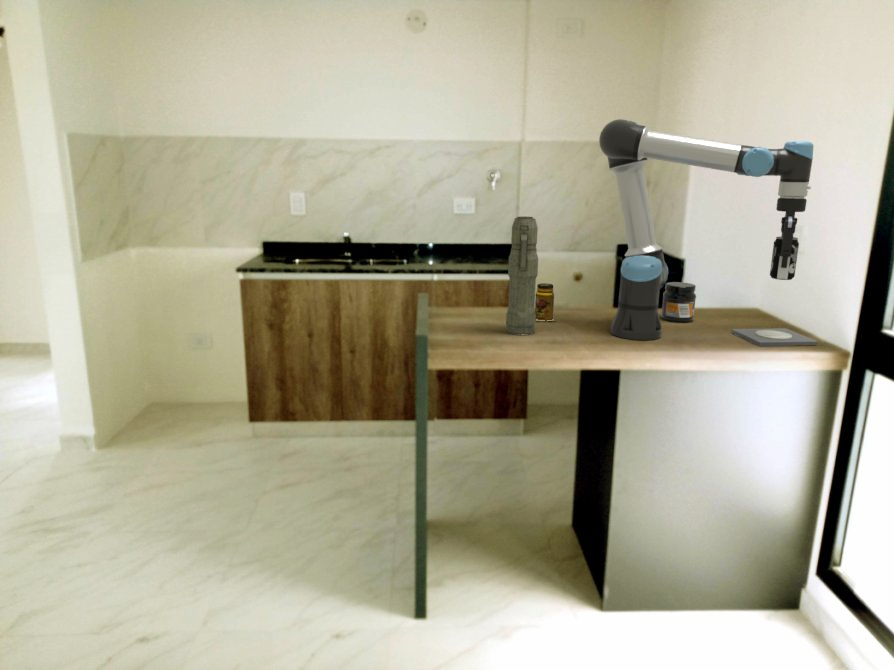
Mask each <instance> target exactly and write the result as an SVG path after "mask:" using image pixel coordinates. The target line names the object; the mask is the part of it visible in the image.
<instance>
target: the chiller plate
mask: <svg viewBox="0 0 894 670" xmlns="http://www.w3.org/2000/svg"><path fill="white" fill-rule="evenodd" d="M731 332H732V333H731ZM731 332H730V333H731V334H733V333H734V334H733V335H735V334H736V335H735V336H737V335H738V336H737V337H739V336H740V337H739V338H741V339H743V340H745V341H748V342H749V343H752V344H753V345H756V346H758V347H791V346H790V345H816V346H819V341H817V340H816V339H813V338H811V337H808V336H806V335H803V334H800V333H798V332H797V331H793V330H790V329H789V328H783V327H781V328H777V327H776V328H731Z"/></svg>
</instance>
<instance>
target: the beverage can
mask: <svg viewBox="0 0 894 670" xmlns="http://www.w3.org/2000/svg"><path fill="white" fill-rule="evenodd" d="M782 240H783V237H781V236H776V238H775V240H774V241H773V245H772V246H773V248H772V254H771V263H770V269H769V270H770V271H769V276H770V278H771V279H774V280H779V281H782V280H783V281H791V280H793V278H794V277H795V276H796V275H795V274H796V267H797V261H798V260H797V259H798V253H799V245H800V243H799V238H798V237H794V236H793V241H792V249H791V252H792V253H791V256H790V263H789V270H788V278H787V279H777V274H778V266H779V259H780V256H778V254H780V253H781V248H782Z"/></svg>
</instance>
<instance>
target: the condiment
mask: <svg viewBox="0 0 894 670" xmlns="http://www.w3.org/2000/svg"><path fill="white" fill-rule="evenodd" d="M536 286H537V288H536V291H535V305H534V310H535V314H536V319H538V320H545V321H547V320H552V319H553V316H554V309H555V307H554V304H555V293H554V284H552V283H542V282H540V283H538V284H537V285H536Z"/></svg>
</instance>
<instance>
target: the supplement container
mask: <svg viewBox="0 0 894 670" xmlns="http://www.w3.org/2000/svg"><path fill="white" fill-rule="evenodd" d="M664 289H665V291H663V294H662V295H663V296H662V306H661V316H660V317H661V318H662V319H663V320H664V321H667V320H668V322H672V321H673V322H672V323H689V322H692V321H693V320H694V318H695V307H696V299H697V295H696V293H695V292H696V285H695V284H694V283H689V282H679V281H672V282H671V281H670V282H665V287H664Z"/></svg>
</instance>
